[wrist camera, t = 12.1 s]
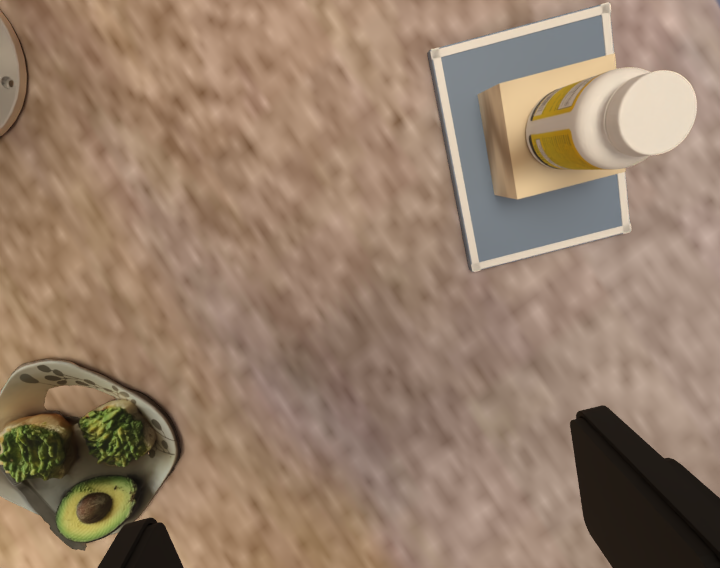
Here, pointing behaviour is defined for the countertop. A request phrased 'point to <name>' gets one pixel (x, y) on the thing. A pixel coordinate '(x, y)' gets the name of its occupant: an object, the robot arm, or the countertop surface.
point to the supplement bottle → (611, 120)
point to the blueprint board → (469, 153)
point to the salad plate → (81, 452)
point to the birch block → (508, 131)
